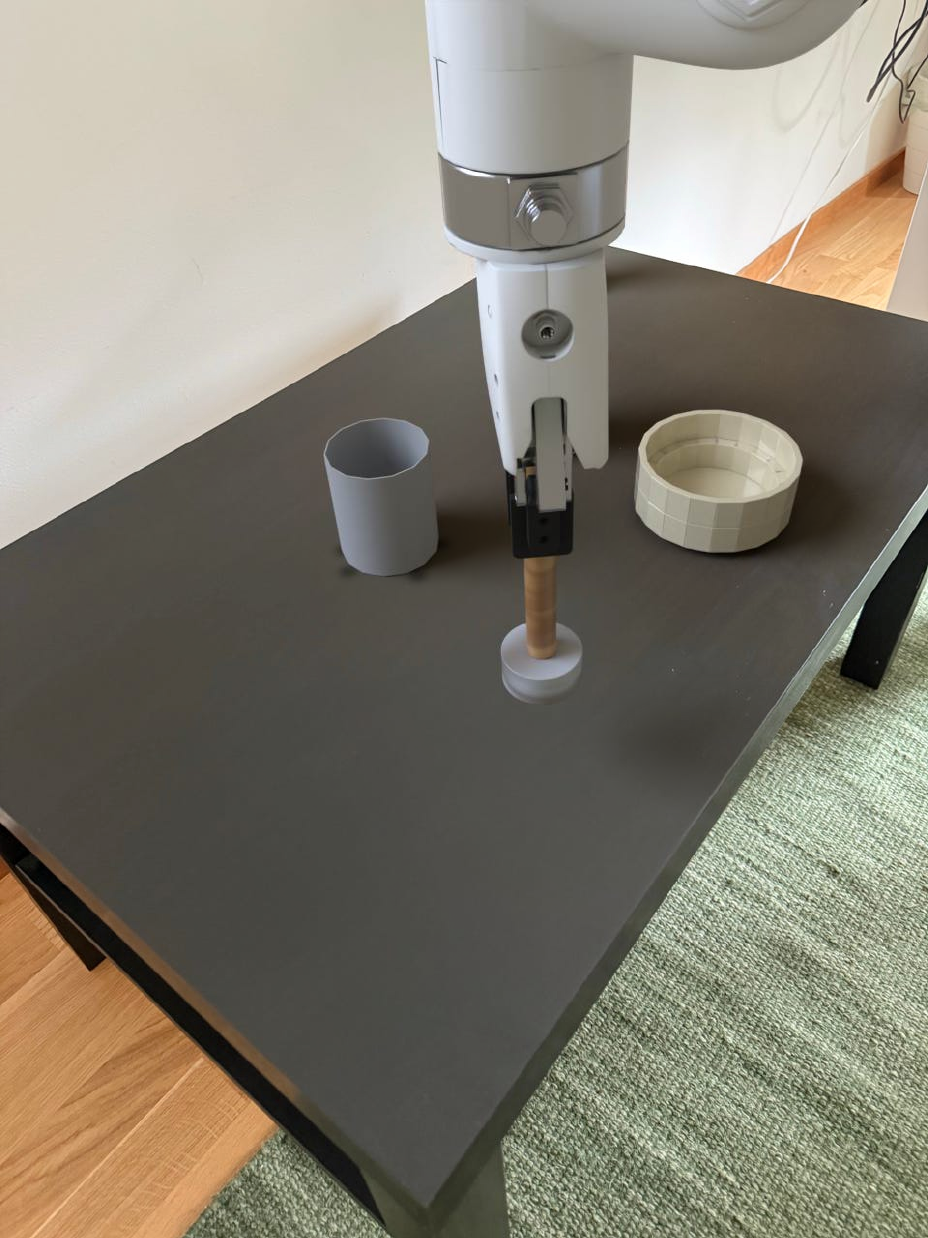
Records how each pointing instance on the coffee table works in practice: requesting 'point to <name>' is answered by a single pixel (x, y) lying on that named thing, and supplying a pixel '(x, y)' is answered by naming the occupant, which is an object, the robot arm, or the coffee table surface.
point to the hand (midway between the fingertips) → (539, 536)
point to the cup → (383, 495)
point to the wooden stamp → (541, 641)
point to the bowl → (716, 480)
